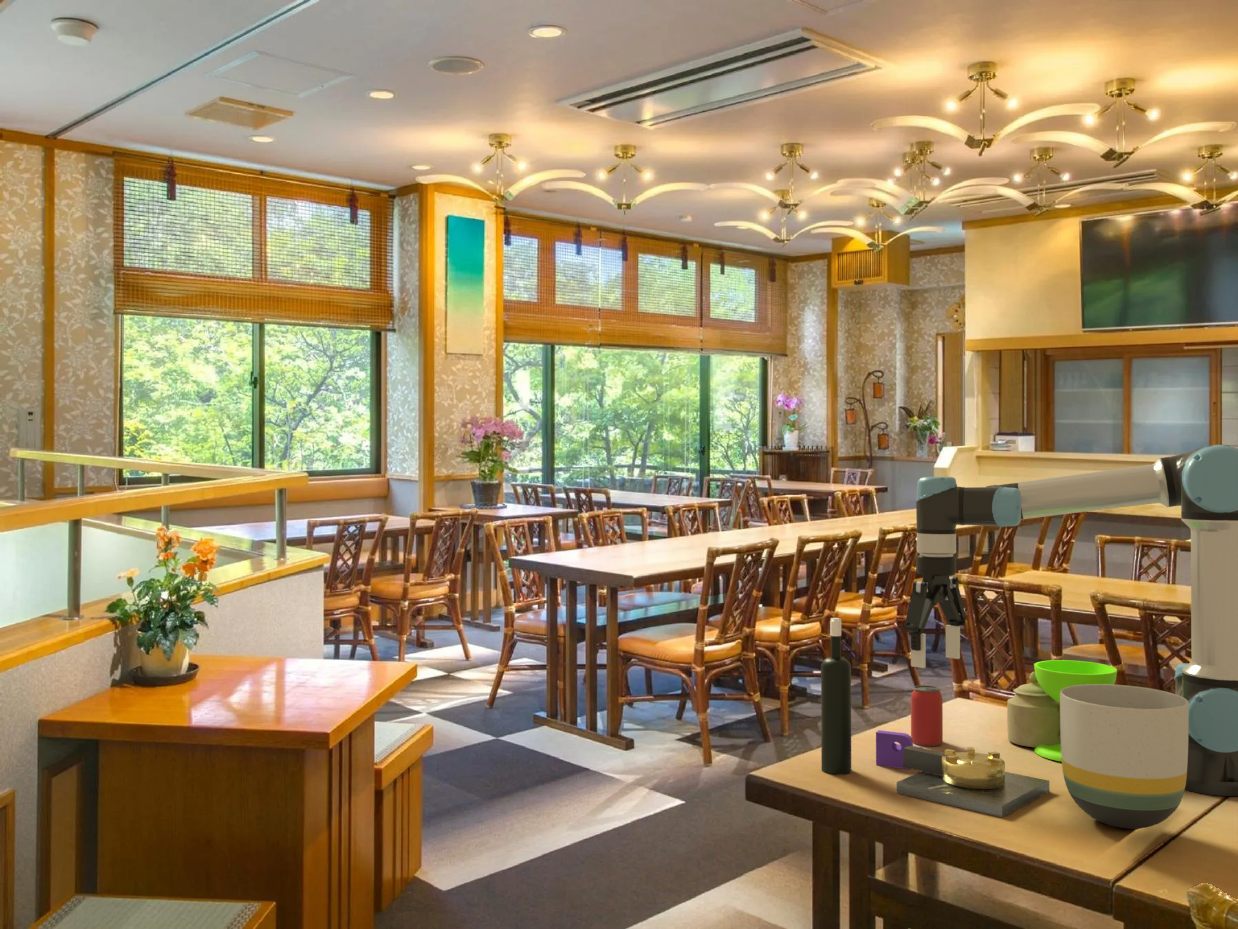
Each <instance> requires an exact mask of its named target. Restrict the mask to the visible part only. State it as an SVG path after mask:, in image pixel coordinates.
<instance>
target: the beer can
mask: <svg viewBox="0 0 1238 929" xmlns="http://www.w3.org/2000/svg"><path fill="white" fill-rule="evenodd" d="M910 695H911V696H910V737H911V738H912V740H913V744H915V745H918V746H920V747H921V746H922V747H937V746H940V745H942V744H943V741H944V740H943V739H944V738H943V733H944V732H943V730H944V729H943V728H944V727H943V726H944V725H943V724H944V723H943V720H944V719H943V714H944V713H943V712H944V711H943V704H944V703H943V701H944V700H943V699H944V698H943V696H942V693H941V689H940V687H938V686H935V685H924V684H923V685H922V684H921V685H920V684H919V685H915V686H913V691H912V692H911V694H910Z"/></svg>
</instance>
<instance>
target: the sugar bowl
mask: <svg viewBox="0 0 1238 929" xmlns="http://www.w3.org/2000/svg"><path fill="white" fill-rule="evenodd" d="M1028 678H1029V681H1030V683H1025V684H1021V685H1019V686H1018V687H1017V688H1013V692H1014V693H1015V694H1014V696H1013V697H1011V698H1008V699H1007V706H1006V709H1007V710H1006V711H1007V712H1006V719H1007V721H1006V722H1007V725H1006V726H1007V740H1008V741H1009V742H1010V743H1012V744H1016V745H1018V746H1024V747H1031V748H1035V747H1037V746H1038V745H1046V746H1050V745H1056V744H1059V743H1061V734H1060V702H1058V701H1056V700H1054V699H1053V698H1052V697H1051V696H1049V695H1048V694H1047V693H1046V692H1045V691H1044V690H1043V689H1042V687H1041V686H1040V685H1039V682H1038V680H1037V678H1036V676H1035V671H1032V672H1031V673H1030V674H1029V676H1028Z"/></svg>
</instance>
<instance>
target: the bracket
mask: <svg viewBox="0 0 1238 929" xmlns="http://www.w3.org/2000/svg"><path fill="white" fill-rule="evenodd" d="M908 746H913V747H918V748H923V746H922V747H921V746H915V745H914V743H913V740H912V738H911V734H908V733H906V732H900V731H899V732H898V731H897V732H896V731H888V730H880V729H879V730H877V731H876V732H875V763H876V764H875V765H876V766H880V767H881V766H882V767H889V768H895V769H906V770H911V769H910V768H906V767H903V748H905V747H908Z"/></svg>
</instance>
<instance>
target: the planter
mask: <svg viewBox="0 0 1238 929" xmlns="http://www.w3.org/2000/svg"><path fill="white" fill-rule="evenodd" d="M1188 725H1189V703H1188V701H1187V700H1186V699H1185V698H1183V697H1181V696H1179V695H1176V693H1172V692H1170V691H1169V692H1168V691H1164V690H1161V689H1155V688H1150V687H1141V686H1135V685H1134V686H1133V685H1122V684H1114V685H1110V684H1086V685H1075V686H1069V687H1066V688H1063V689H1062V690H1061V691H1060V734H1061V757H1062V762H1061V768H1062V773H1063V774H1062V775H1063V779H1064V783H1065V786H1066V789H1067V791H1068V793H1069V795H1070V797H1071V798H1072V800H1073V801H1074V802H1075V803H1076V805H1077V806H1078V807H1079V808H1080V809H1081V810H1082V811H1083V812H1084V813H1085V814H1087V815H1088V816H1089V817H1091V818H1092V819H1094V820H1095V821H1098V822H1100V823H1102V824H1105V825H1107V826H1111V827H1114V828H1119V829H1120V828H1121V829H1126V830H1127V829H1129V830H1137V829H1146V828H1150V827H1154V826H1156V825H1158V824H1160V823H1162V822H1164V821H1165V820H1166V819H1169V817H1170V816H1172V815H1173V813H1175V812H1176V810H1177V809H1178V808H1179V806H1180V805H1181V802H1182V799H1183V797H1184V793H1185V791H1186V790H1185V786H1186V778H1187V762H1188Z"/></svg>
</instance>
